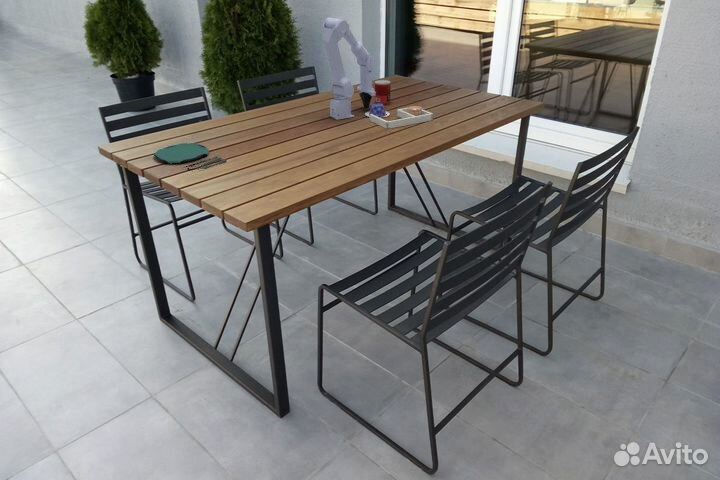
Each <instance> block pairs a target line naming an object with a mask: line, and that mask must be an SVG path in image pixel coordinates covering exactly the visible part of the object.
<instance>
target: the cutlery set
mask: <svg viewBox="0 0 720 480" xmlns="http://www.w3.org/2000/svg"><path fill="white" fill-rule="evenodd" d="M209 154H210V150H209V148H208V147H206V146H205V145H202V144H199V143H198V144H197V143H195V142H194V143H193V142H183V143H182V142H181V143H178V144H174V145H170V146H169V145H168V146H166V147H163V148H159V149H158V150H156V151H155V152H154V153H153V156H154V157H155V158H156V160H158V161H160V162H164V163H169V164H171V165H173V164H172V163H179V164H180V163H185V162H190V161H195V160H197V159H199V158H202V157H203V156H205V155H207V156H208V155H209ZM222 159H223V158H222V157H221V156H220V157H218V156H213V157H210V158H207V159H205V158H204V159H201V160H200V161H196V162H193V163H190V164H188V165H192V164H195V165H201V166H197V168H198V169H205V170H206V169H208V168H211V166H212V167H215V165H216V166H219V165H221V164H223V163H227V161H228V160H227V159H223V160H222ZM217 161H218V162H217ZM200 162H203V163H200ZM213 162H216V163H213ZM197 163H198V164H197ZM210 163H213V164H210ZM208 164H209V165H208ZM218 164H219V165H218ZM202 165H203V166H202ZM192 166H194V165H192ZM189 167H191V166H189ZM199 167H200V168H199Z"/></svg>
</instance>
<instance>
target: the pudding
mask: <svg viewBox="0 0 720 480" xmlns="http://www.w3.org/2000/svg"><path fill="white" fill-rule="evenodd" d="M370 114H373V115H375V116H377V117H379V118H381V119H382V118H386V117H388V116H390V112H389V111H387V110H386V109H385V105H383V104H379V103H377V104H375V103H372V104H371V105H370V109H369V111H367V112H365V113H364V115H365V117H366V116H367V117H369V118H370ZM386 114H387V115H386Z"/></svg>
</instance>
